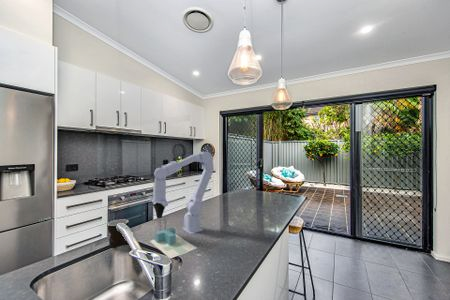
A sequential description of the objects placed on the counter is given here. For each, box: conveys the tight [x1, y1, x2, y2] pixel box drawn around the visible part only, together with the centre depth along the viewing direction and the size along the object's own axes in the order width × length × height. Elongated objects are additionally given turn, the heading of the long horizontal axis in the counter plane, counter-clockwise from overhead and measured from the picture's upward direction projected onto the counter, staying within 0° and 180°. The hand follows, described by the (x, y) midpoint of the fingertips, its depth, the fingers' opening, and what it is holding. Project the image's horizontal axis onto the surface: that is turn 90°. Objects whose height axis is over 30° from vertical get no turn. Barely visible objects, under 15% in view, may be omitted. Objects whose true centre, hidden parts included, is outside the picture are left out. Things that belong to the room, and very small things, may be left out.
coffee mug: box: [107, 218, 129, 248], centre depth 88 cm, size 12×9×10 cm
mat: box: [149, 233, 198, 259], centre depth 89 cm, size 22×13×1 cm, turn 43°
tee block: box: [154, 227, 177, 245], centre depth 92 cm, size 9×9×4 cm
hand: (159, 217), depth 100 cm, fingers closed
